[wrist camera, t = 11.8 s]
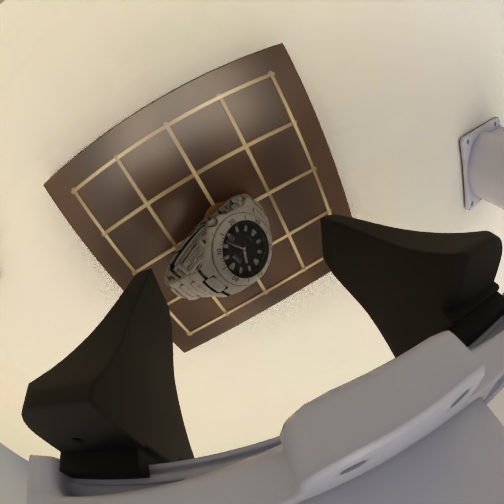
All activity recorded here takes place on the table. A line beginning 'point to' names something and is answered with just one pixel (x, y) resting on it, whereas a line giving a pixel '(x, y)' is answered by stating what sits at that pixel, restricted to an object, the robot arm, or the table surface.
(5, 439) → the table surface
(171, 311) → the board
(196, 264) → the wristwatch
